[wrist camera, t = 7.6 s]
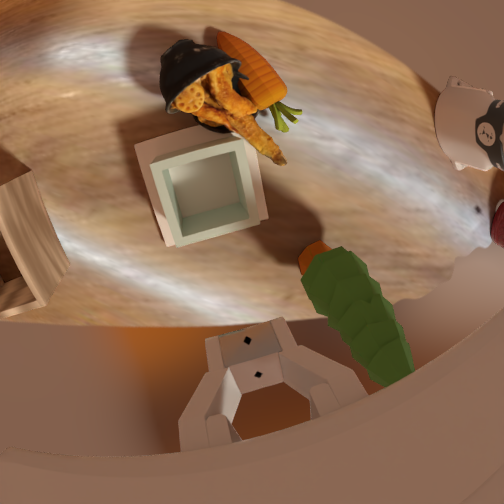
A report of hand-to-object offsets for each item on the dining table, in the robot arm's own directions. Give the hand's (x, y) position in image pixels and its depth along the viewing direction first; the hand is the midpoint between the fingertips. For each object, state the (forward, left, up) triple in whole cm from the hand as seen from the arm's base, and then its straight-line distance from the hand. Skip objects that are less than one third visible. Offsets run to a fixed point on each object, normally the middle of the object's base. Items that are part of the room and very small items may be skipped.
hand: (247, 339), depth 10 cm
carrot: (-6, -18, -26) cm, 32 cm away
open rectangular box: (0, 0, -27) cm, 27 cm away
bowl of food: (-1, -16, -23) cm, 28 cm away
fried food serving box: (+31, -2, -27) cm, 41 cm away
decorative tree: (-14, +16, -28) cm, 35 cm away
